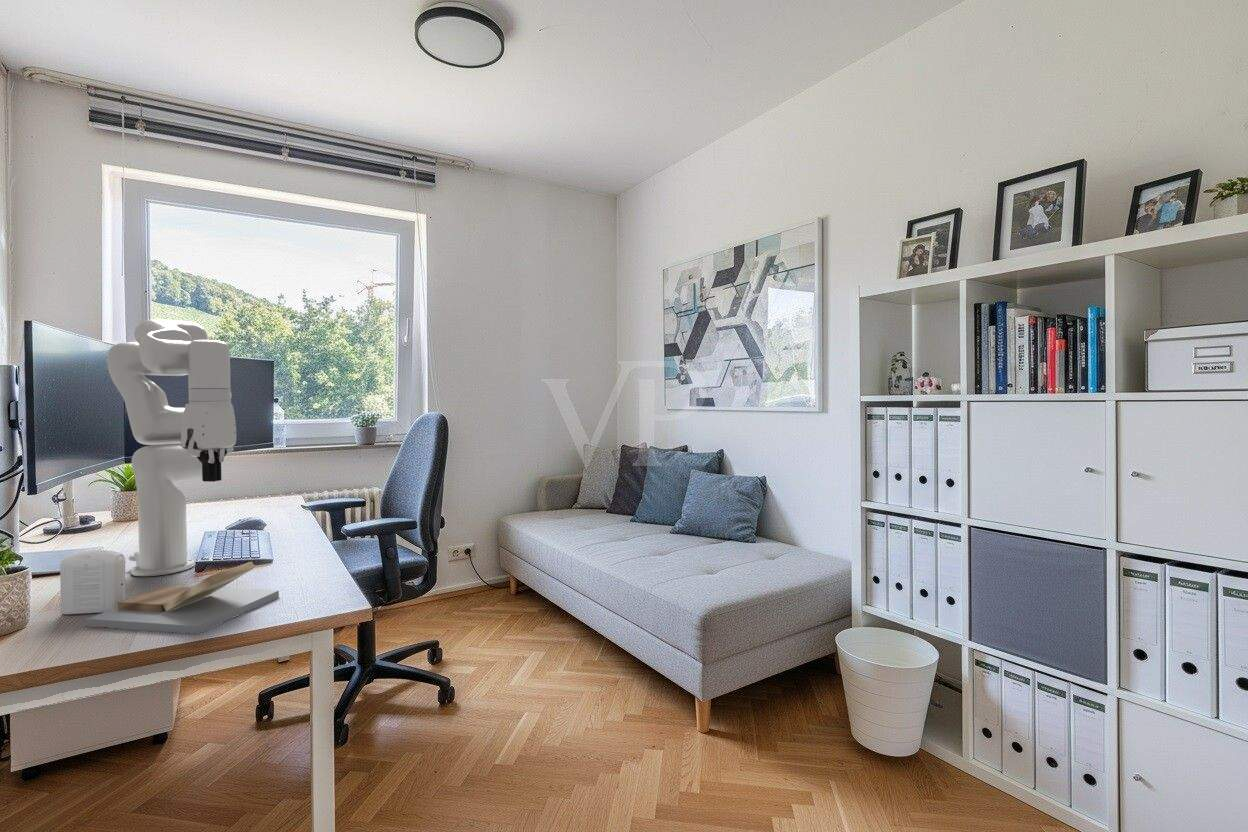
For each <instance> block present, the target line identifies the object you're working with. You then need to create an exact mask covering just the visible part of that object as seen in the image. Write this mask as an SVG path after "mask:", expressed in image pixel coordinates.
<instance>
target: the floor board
mask: <svg viewBox="0 0 1248 832" xmlns="http://www.w3.org/2000/svg"><path fill="white" fill-rule="evenodd" d="M193 586H194V585H186V584H183V585H179V586H178V587H193ZM279 592H280V591H279V590H276V589H275V590H274V589H256V588H254V589H253V588H242V587H241V588H239V587H225V586H224V587H222V588H220V589H219V590H217V591H215V592H214V593H212V594H210V595H208V596H205V597H203V598H200V599H197V600H195V601H192V602H190V603H187V604H184V605H182V606H179V607H177V608H174V609H172V610H169V611H164V612H150V611H134V610H119V609H118V608H115V609H112V610H110V611H107V612H100V613H97V614H96V615H93V616H90V617H87V618H85V619H86V620H85V622H86V627H87V626H95V627H94V628H101V627H108V628H107V629H115V628H118V629H119V630H130V629H132V631H133V630H134V631H144V630H147V632H158V631H161V632H160V633H172V632H179V633H178V634H186V633H190V634H189V635H199V634H201V633H203V631H204V632H206V631H208V630H210V629H212V628H214V627H213V626H215V625H217V624H219V625H221V624H222V623H221V622H223V623H225V622H224V621H226V620H228V619H230V618H232V617H234V616H237V615H239V616H241V615H243V614H245V613H244V612H246V613H248V612H249V611H248V610H250V611H252V610H254V609H256V608H255V607H257V608H258V606H259V607H261V606H263V605H265V604H268V603H269V602H271V601H274V600H276V599H278V598H279V597H280V593H279ZM267 602H268V603H267ZM262 604H263V605H262ZM260 605H261V606H260ZM253 608H254V609H253ZM251 609H252V610H251ZM247 611H248V612H247ZM242 613H243V614H242ZM240 614H241V615H240ZM237 617H238V616H237ZM232 619H233V618H232ZM230 620H231V619H230ZM228 621H229V620H228ZM226 622H227V621H226ZM220 623H221V624H220ZM217 626H218V625H217ZM211 627H212V628H211ZM215 627H216V626H215ZM209 628H210V629H209ZM207 629H208V630H207ZM205 630H206V631H205ZM198 633H199V634H198Z"/></svg>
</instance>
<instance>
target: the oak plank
mask: <svg viewBox="0 0 1248 832" xmlns="http://www.w3.org/2000/svg"><path fill="white" fill-rule="evenodd" d="M255 568H256V567H255V565H254V563H253V561H248V562H246V563H243V564H240V565H237V566H234V567H232V568H228V569H225V570H223V571H220V572H217V573H215V574H211V575H209V576H208V577H206V578H204V579H203V580H201V581H199V582H198V583H196V584H194V585H192V586H193V587H191V588H189V589H188V590H186V591H184V592H183V593H181V594H180V595H178V596H176V597H175V598H173V599H171V600H170V601H168V602H166V603H165V604H163V606H164V608H165V610H166V611H169V610H172V609H174V608H177V607H179V606H182V605H184V604H187V603H190V602H192V601H195V600H197V599H200V598H203V597H205V596H208V595H210V594H212V593H214V592H215V591H217V590H219V589H220V588H222V587H224V588H225V586H227V585H229V584H231V583H232V582H234V581H236V580H237V579H239V578H240V577H242V576H243V575H246V574H247V573H248V572H250V571H253V569H255Z"/></svg>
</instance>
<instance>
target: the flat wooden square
mask: <svg viewBox="0 0 1248 832" xmlns="http://www.w3.org/2000/svg"><path fill="white" fill-rule="evenodd" d="M189 588H191V587H179V586H175V585H174V586H171V585H164V586H161V587H158V588H155V589H154V588H153V589H151V590H149V591H147V592H143V593H140V594H137V595H133V596H132V597H131V596H130V597H128V598H126V599H125V600H122V601H119V602H118V609H119V610H134V611H150V612H164V611H166V610H165V608H164V606H163V604H165V603H166V602H168V601H170V600H171V599H173V598H175V597H176V596H178V595H180V594H181V593H183V592H184V591H186V590H188V589H189Z"/></svg>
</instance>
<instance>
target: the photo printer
mask: <svg viewBox="0 0 1248 832" xmlns="http://www.w3.org/2000/svg"><path fill="white" fill-rule="evenodd" d="M59 570H60V571H59V575H60V577H59V578H60V579H59V580H60V583H59V584H60V586H59V587H60V614H61V615H63V614H65V615H78V614H94V613H95V614H101V613H104V612H107V611H110V610H112V609H115V608H118V602H119V601H122V600H125V599H127V598H126V596H127V594H126V558H125V555H124V554H123V553H121V552H117V551H112V550H105V549H94V550H92V549H91V550H84V551H80V552H75V553H73V554H69V555H65V556H64V557H63V558H62V560H61V562H60V567H59Z"/></svg>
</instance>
